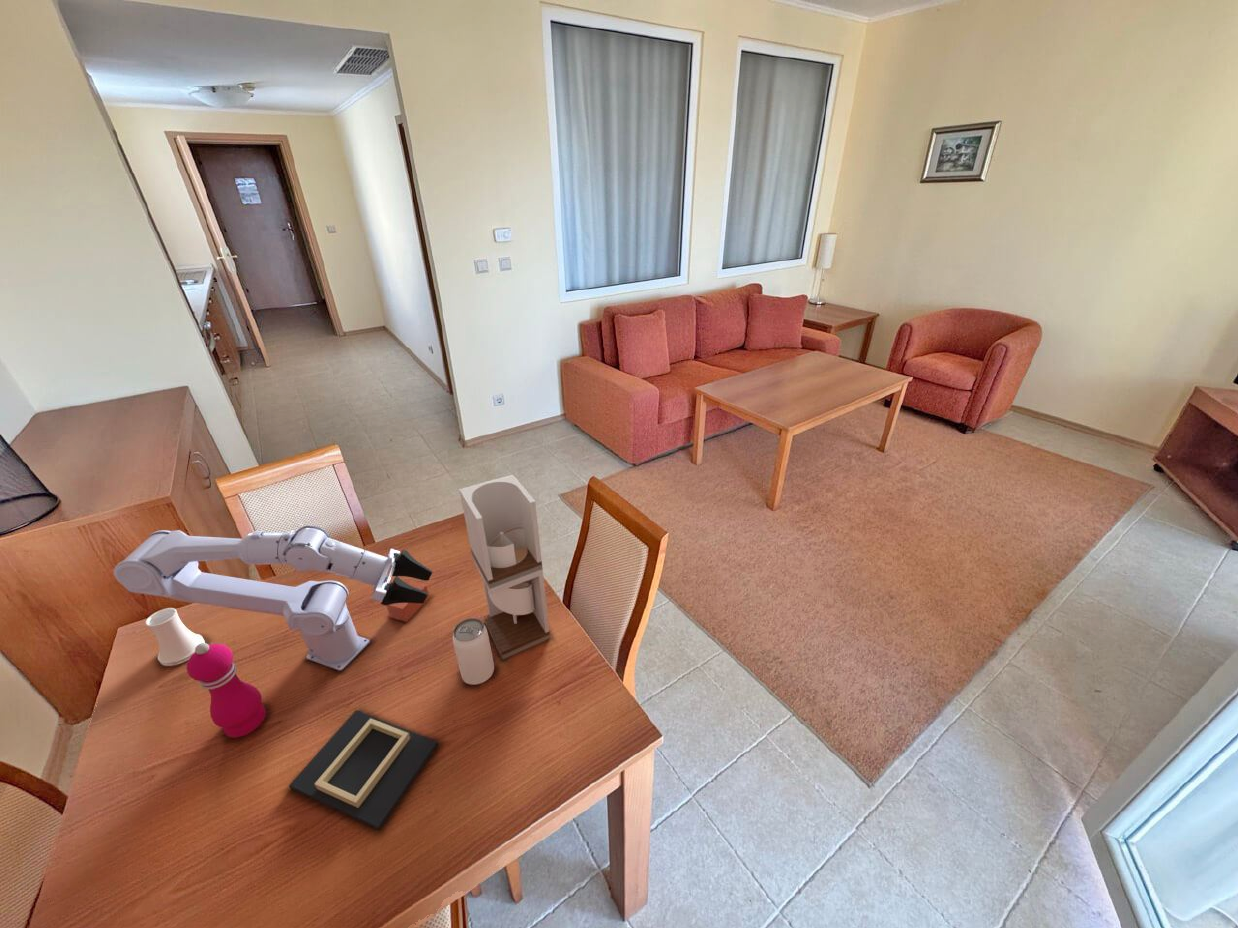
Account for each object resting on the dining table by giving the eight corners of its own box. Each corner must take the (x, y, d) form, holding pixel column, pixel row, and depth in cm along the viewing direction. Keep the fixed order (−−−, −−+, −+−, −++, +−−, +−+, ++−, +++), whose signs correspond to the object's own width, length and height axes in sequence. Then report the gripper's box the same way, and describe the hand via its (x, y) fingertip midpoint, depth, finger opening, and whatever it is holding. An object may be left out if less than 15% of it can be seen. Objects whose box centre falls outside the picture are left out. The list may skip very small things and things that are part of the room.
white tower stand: (485, 623, 110) (459, 489, 93) (530, 604, 115) (513, 474, 98) (502, 659, 101) (476, 519, 85) (550, 638, 106) (535, 501, 89)
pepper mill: (278, 710, 92) (237, 633, 82) (241, 746, 86) (192, 668, 76) (250, 698, 94) (206, 623, 84) (212, 733, 88) (160, 656, 78)
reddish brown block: (389, 617, 112) (385, 604, 110) (413, 593, 118) (410, 580, 117) (406, 622, 111) (402, 609, 109) (429, 597, 117) (426, 585, 115)
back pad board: (290, 788, 80) (285, 780, 79) (357, 713, 91) (353, 704, 90) (379, 830, 74) (375, 822, 73) (438, 744, 86) (436, 735, 85)
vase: (160, 672, 100) (136, 637, 95) (159, 649, 105) (136, 615, 100) (206, 652, 104) (186, 617, 99) (203, 631, 109) (183, 597, 104)
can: (486, 688, 95) (476, 645, 90) (455, 683, 97) (444, 639, 91) (499, 661, 101) (491, 618, 95) (470, 656, 102) (460, 613, 96)
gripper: (356, 569, 87) (432, 593, 92) (375, 528, 100) (440, 551, 105) (341, 600, 88) (416, 622, 93) (361, 556, 101) (426, 577, 106)
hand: (428, 586), depth 99 cm, fingers open, 7 cm apart
